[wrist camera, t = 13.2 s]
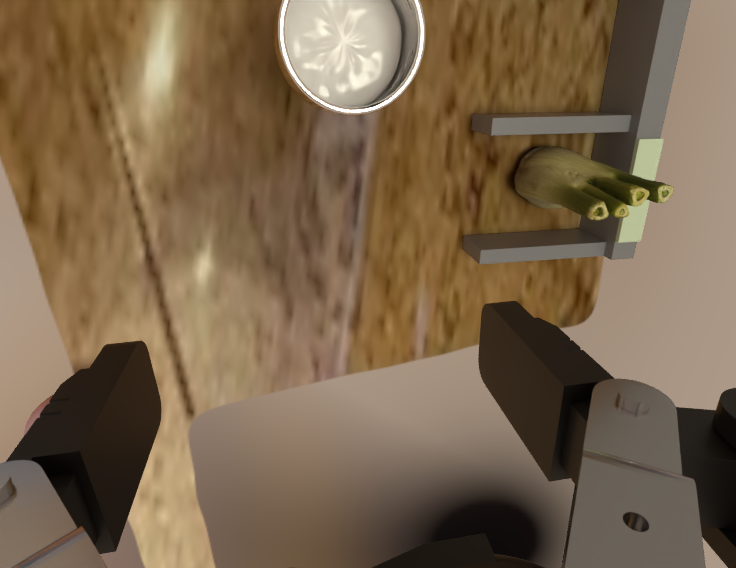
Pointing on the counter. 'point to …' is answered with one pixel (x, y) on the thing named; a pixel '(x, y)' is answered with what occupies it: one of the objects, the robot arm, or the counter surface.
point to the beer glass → (349, 51)
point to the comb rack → (603, 135)
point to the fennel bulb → (582, 184)
